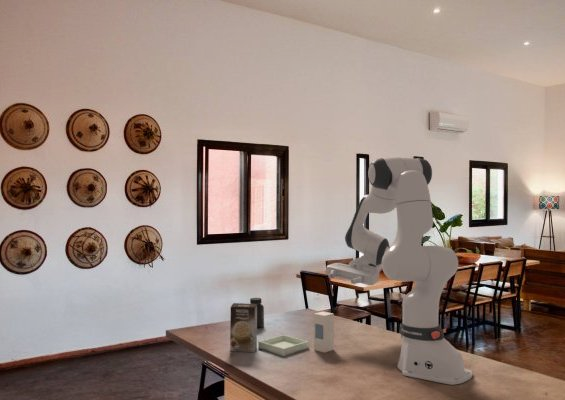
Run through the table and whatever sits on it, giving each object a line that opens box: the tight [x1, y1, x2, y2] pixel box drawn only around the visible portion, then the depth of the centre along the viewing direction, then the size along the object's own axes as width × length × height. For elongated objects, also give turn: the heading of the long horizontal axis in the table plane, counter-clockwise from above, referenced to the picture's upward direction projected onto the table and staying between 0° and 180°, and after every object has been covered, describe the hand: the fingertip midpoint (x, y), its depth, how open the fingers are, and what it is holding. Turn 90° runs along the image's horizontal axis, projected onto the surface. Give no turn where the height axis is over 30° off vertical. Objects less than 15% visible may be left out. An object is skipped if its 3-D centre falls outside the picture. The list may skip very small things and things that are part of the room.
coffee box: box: [229, 302, 258, 353], centre depth 176 cm, size 9×6×16 cm
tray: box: [257, 334, 310, 357], centre depth 177 cm, size 13×13×2 cm
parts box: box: [313, 311, 335, 354], centre depth 175 cm, size 5×5×13 cm
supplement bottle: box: [249, 297, 265, 329], centre depth 208 cm, size 7×7×12 cm
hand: (341, 278), depth 182 cm, fingers open, 8 cm apart
